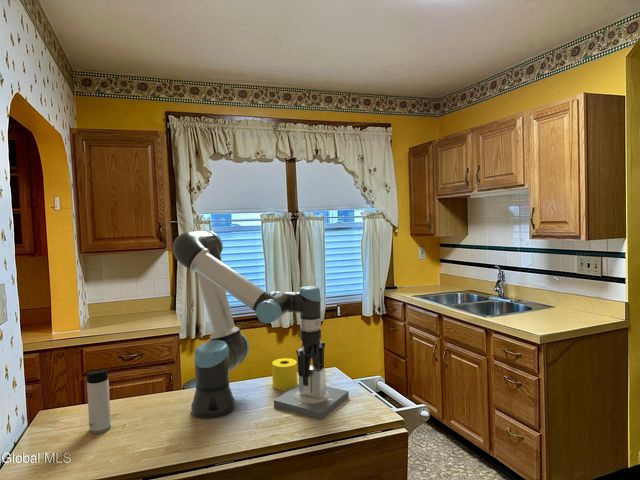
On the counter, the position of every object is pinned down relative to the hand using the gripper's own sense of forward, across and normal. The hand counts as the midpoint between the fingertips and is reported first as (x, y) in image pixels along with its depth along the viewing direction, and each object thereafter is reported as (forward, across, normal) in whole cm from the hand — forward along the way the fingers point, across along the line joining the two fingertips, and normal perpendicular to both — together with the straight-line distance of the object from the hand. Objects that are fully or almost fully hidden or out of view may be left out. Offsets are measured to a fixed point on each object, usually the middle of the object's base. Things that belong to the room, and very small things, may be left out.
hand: (311, 391), depth 159 cm
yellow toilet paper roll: (+4, +5, +19) cm, 20 cm away
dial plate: (+4, 0, 0) cm, 4 cm away
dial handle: (+1, 0, 0) cm, 1 cm away
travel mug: (+4, -59, +40) cm, 72 cm away
